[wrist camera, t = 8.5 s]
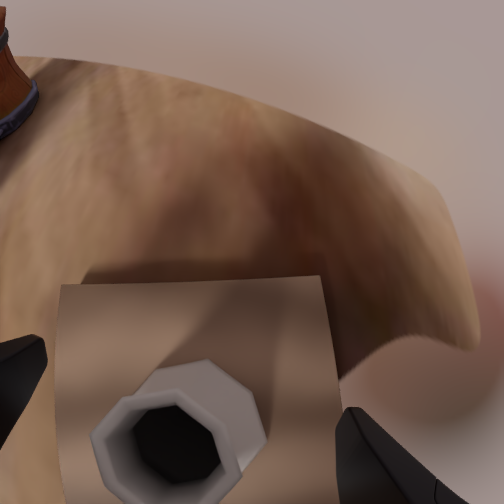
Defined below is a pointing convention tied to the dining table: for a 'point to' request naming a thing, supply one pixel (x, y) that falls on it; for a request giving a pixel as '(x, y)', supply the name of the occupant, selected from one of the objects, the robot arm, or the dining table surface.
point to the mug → (13, 87)
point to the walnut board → (195, 349)
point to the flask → (179, 437)
